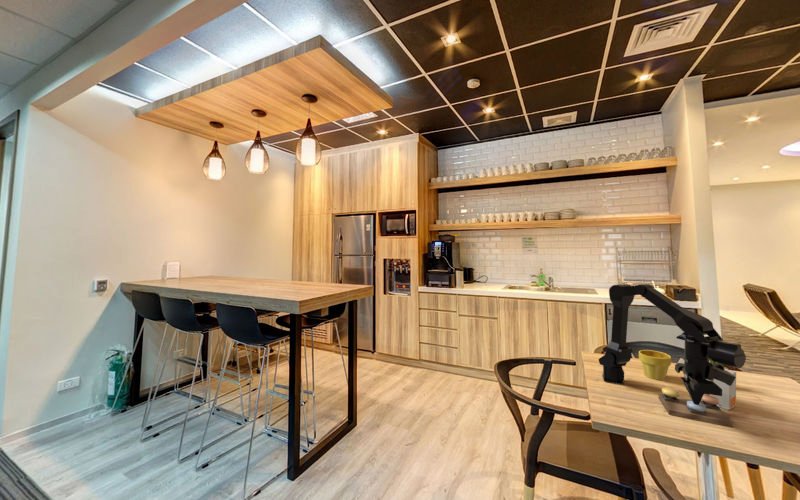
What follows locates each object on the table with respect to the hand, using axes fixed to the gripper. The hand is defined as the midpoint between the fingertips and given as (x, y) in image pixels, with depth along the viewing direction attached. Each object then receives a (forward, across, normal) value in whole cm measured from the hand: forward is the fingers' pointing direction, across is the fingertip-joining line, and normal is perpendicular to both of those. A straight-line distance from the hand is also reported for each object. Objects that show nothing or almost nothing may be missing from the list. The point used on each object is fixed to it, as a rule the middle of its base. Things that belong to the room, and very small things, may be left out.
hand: (696, 404), depth 98 cm
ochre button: (+1, +6, +5) cm, 8 cm away
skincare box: (+4, +13, -11) cm, 18 cm away
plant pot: (+4, +31, +4) cm, 32 cm away
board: (+4, +3, 0) cm, 5 cm away
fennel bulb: (+4, +33, -15) cm, 36 cm away
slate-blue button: (+2, 0, 0) cm, 2 cm away
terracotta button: (+1, +6, -5) cm, 8 cm away
